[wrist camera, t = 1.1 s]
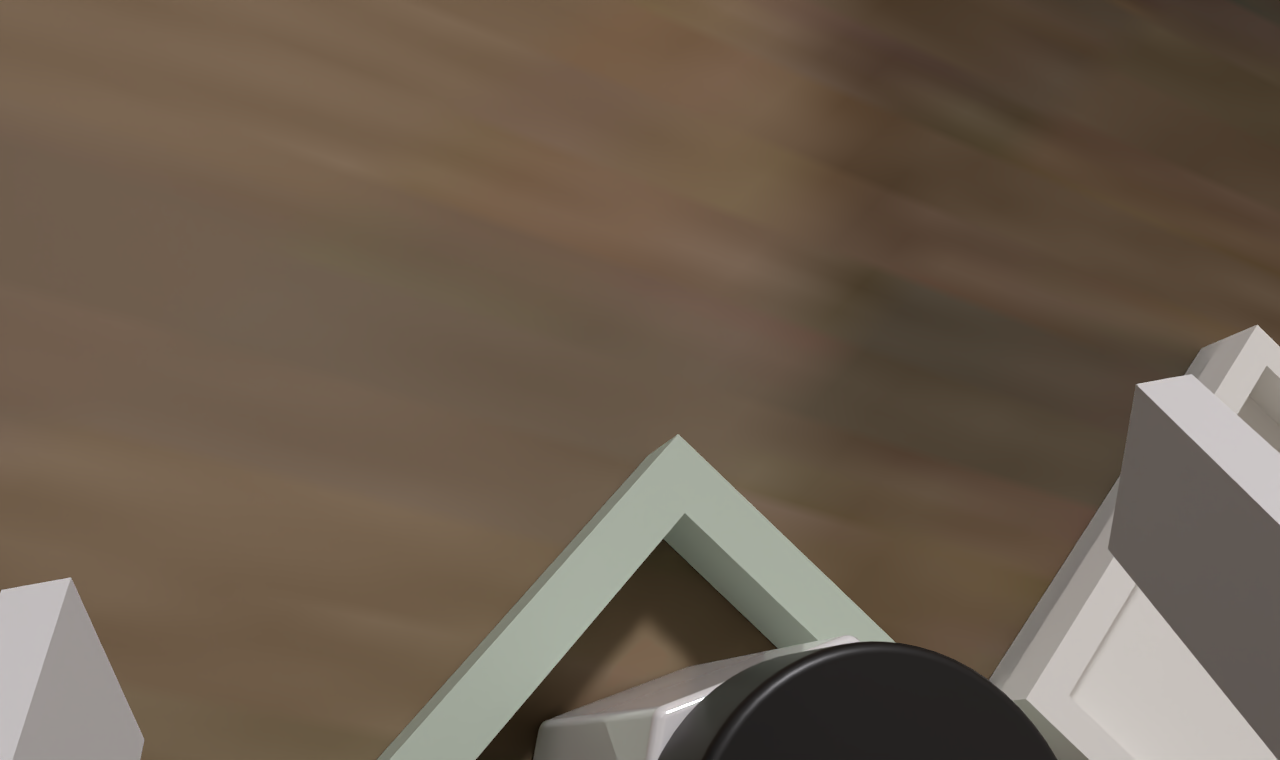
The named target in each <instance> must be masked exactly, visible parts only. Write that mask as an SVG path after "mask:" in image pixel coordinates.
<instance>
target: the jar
mask: <svg viewBox="0 0 1280 760" xmlns="http://www.w3.org/2000/svg"><path fill="white" fill-rule="evenodd" d="M533 760H1058V759H1057V758H1056V756H1055V755H1054V753H1053V751H1052V750H1051V748H1050V746H1049V745H1048V743H1047V741H1046V740H1045V739H1044V737H1043V736H1042V735H1041V733H1040V732H1039V730H1038V729H1037V728H1036V726H1035V725H1034V724H1033V723H1032V721H1031V720H1030V719H1029V718H1028V717H1027V716H1026V714H1025V713H1024V712H1023V711H1022V710H1021V709H1020V708H1019V707H1018V706H1017V705H1016V704H1015V703H1014V702H1013V701H1012V700H1011V699H1010V698H1009V697H1008V696H1007V695H1006V694H1005V693H1004V692H1003V691H1001V690H1000V689H999V688H998V687H997V686H995V685H994V684H993V683H992V682H990V681H989V680H988V679H986V678H985V677H983V676H982V675H980V674H979V673H977V672H976V671H974V670H973V669H971V668H969V667H967V666H965V665H964V664H962V663H960V662H958V661H956V660H954V659H952V658H949V657H947V656H944V655H942V654H940V653H937V652H934V651H931V650H928V649H924V648H921V647H917V646H912V645H907V644H902V643H894V642H880V641H868V642H860V641H859V640H858V639H857V638H856V637H854V636H850V635H843V636H838V637H833V638H829V639H824V640H819V641H814V642H809V643H804V644H799V645H794V646H789V647H784V648H779V649H774V650H769V651H764V652H759V653H754V654H749V655H744V656H739V657H734V658H729V659H724V660H719V661H714V662H709V663H704V664H700V665H695V666H690V667H687V668H684V669H681V670H679V671H676V672H673V673H671V674H668V675H665V676H663V677H660V678H657V679H655V680H652V681H649V682H647V683H644V684H641V685H639V686H636V687H633V688H631V689H628V690H625V691H623V692H620V693H617V694H615V695H612V696H609V697H607V698H604V699H601V700H599V701H596V702H593V703H591V704H588V705H585V706H583V707H580V708H577V709H575V710H572V711H569V712H567V713H564V714H561V715H559V716H556V717H553V718H551V719H548V720H546V721H544V722H543V723H542V724H541V725H540V727H539V730H538V736H537V741H536V746H535V752H534V757H533Z"/></svg>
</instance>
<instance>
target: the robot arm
mask: <svg viewBox="0 0 1280 760" xmlns="http://www.w3.org/2000/svg"><path fill="white" fill-rule="evenodd" d="M1108 550H1109V551H1110V552H1111V554H1112V555H1113V556H1114V557H1115V559H1116V560H1117V561H1118V562H1119V564H1120V565H1121V566H1122V567H1123V569H1124V570H1125V571H1126V572H1127V573H1128V575H1129V576H1130V577H1131V578H1132V580H1133V581H1134V582H1135V583H1136V585H1137V586H1138V587H1139V588H1140V590H1141V591H1142V592H1143V593H1144V595H1145V596H1146V597H1147V598H1148V600H1149V601H1150V602H1151V603H1152V604H1153V606H1154V607H1155V608H1156V609H1157V611H1158V612H1159V613H1160V614H1161V616H1162V617H1163V618H1164V619H1165V621H1166V622H1167V623H1168V624H1169V626H1170V627H1171V628H1172V629H1173V631H1174V632H1175V633H1176V634H1177V635H1178V637H1179V638H1180V639H1181V640H1182V642H1183V643H1184V644H1185V645H1186V647H1187V648H1188V649H1189V650H1190V652H1191V653H1192V654H1193V655H1194V657H1195V658H1196V659H1197V660H1198V662H1199V663H1200V664H1201V665H1202V666H1203V668H1204V669H1205V670H1206V671H1207V673H1208V674H1209V675H1210V676H1211V678H1212V679H1213V680H1214V681H1215V683H1216V684H1217V685H1218V686H1219V688H1220V689H1221V690H1222V691H1223V693H1224V694H1225V695H1226V696H1227V697H1228V699H1229V700H1230V701H1231V702H1232V704H1233V705H1234V706H1235V707H1236V709H1237V710H1238V711H1239V712H1240V714H1241V715H1242V716H1243V717H1244V719H1245V720H1246V721H1247V722H1248V724H1249V725H1250V726H1251V727H1252V728H1253V730H1254V731H1255V732H1256V733H1257V735H1258V736H1259V737H1260V738H1261V740H1262V741H1263V742H1264V743H1265V745H1266V746H1267V747H1268V748H1269V750H1270V751H1271V752H1272V753H1273V755H1274V756H1275V757H1276V758H1277V759H1278V760H1280V453H1279V452H1278V451H1277V450H1276V449H1274V448H1273V447H1272V446H1271V445H1270V444H1269V443H1268V442H1267V441H1265V440H1264V439H1263V438H1262V437H1261V436H1260V435H1259V434H1258V433H1257V432H1255V431H1254V430H1253V429H1252V428H1251V427H1250V426H1249V425H1248V424H1247V423H1245V422H1244V421H1243V420H1242V419H1241V418H1240V417H1239V416H1238V415H1237V414H1235V413H1234V412H1233V411H1232V410H1231V409H1230V408H1229V407H1228V406H1227V405H1225V404H1224V403H1223V402H1222V401H1221V400H1220V399H1219V398H1218V397H1217V396H1215V395H1214V394H1213V393H1212V392H1211V391H1210V390H1209V389H1208V388H1207V387H1205V386H1204V385H1203V384H1202V383H1201V382H1200V381H1199V380H1198V379H1197V378H1195V377H1194V376H1193V375H1192V374H1190V375H1184V376H1179V377H1173V378H1168V379H1162V380H1157V381H1151V382H1146V383H1140V384H1136V388H1135V393H1134V399H1133V405H1132V411H1131V417H1130V423H1129V428H1128V434H1127V440H1126V446H1125V452H1124V457H1123V463H1122V469H1121V475H1120V481H1119V487H1118V492H1117V498H1116V504H1115V510H1114V516H1113V522H1112V527H1111V533H1110V539H1109V545H1108ZM143 744H144V738H143V736H142V733H141V731H140V729H139V727H138V725H137V722H136V720H135V718H134V716H133V713H132V711H131V709H130V707H129V705H128V702H127V700H126V698H125V696H124V694H123V691H122V689H121V687H120V685H119V683H118V680H117V678H116V676H115V674H114V671H113V669H112V667H111V665H110V663H109V660H108V658H107V656H106V654H105V652H104V649H103V647H102V645H101V643H100V641H99V638H98V636H97V634H96V632H95V629H94V627H93V625H92V623H91V621H90V618H89V616H88V614H87V612H86V610H85V607H84V605H83V603H82V601H81V598H80V596H79V594H78V592H77V590H76V587H75V585H74V583H73V581H72V579H71V578H65V579H60V580H54V581H49V582H43V583H38V584H32V585H27V586H21V587H16V588H10V589H5V590H1V593H0V760H140V758H141V753H142V748H143Z"/></svg>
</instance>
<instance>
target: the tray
mask: <svg viewBox="0 0 1280 760" xmlns="http://www.w3.org/2000/svg"><path fill="white" fill-rule="evenodd" d="M1190 374H1192V375H1193V376H1194V377H1195V378H1197V379H1198V380H1199V381H1200V382H1201V383H1202V384H1203V385H1204V386H1205V387H1207V388H1208V389H1209V390H1210V391H1211V392H1212V393H1213V394H1214V395H1215V396H1217V397H1218V398H1219V399H1220V400H1221V401H1222V402H1223V403H1224V404H1225V405H1227V406H1228V407H1229V408H1230V409H1231V410H1232V411H1233V412H1234V413H1235V414H1237V415H1238V416H1239V417H1240V418H1241V419H1242V420H1243V421H1244V422H1245V423H1247V424H1248V425H1249V426H1250V427H1251V428H1252V429H1253V430H1254V431H1255V432H1257V433H1258V434H1259V435H1260V436H1261V437H1262V438H1263V439H1264V440H1265V441H1267V442H1268V443H1269V444H1270V445H1271V446H1272V447H1273V448H1274V449H1276V450H1277V451H1278V452H1279V453H1280V347H1279V346H1278V345H1277V344H1276V343H1275V342H1274V341H1273V340H1272V339H1271V338H1270V337H1269V336H1268V335H1267V334H1266V333H1265V332H1264V331H1263V330H1262V329H1261V328H1260V327H1259V326H1258V325H1256V326H1253V327H1251V328H1249V329H1246V330H1244V331H1241V332H1239V333H1237V334H1234V335H1232V336H1230V337H1227V338H1225V339H1222V340H1220V341H1218V342H1215V343H1213V344H1211V345H1208V346H1206V347H1203V348H1201V350H1200V351H1199V353H1198V355H1197V356H1196V358H1195V359H1194V361H1193V362H1192V364H1191V365H1190V367H1189V369H1188V370H1187V372H1186V373H1185V375H1190ZM1119 481H1120V476H1119V478H1118V479H1117V481H1116V483H1115V484H1114V486H1113V487H1112V489H1111V490H1110V492H1109V493H1108V495H1107V497H1106V498H1105V500H1104V501H1103V503H1102V504H1101V506H1100V507H1099V509H1098V511H1097V512H1096V514H1095V515H1094V517H1093V518H1092V520H1091V522H1090V523H1089V525H1088V526H1087V528H1086V529H1085V531H1084V532H1083V534H1082V536H1081V537H1080V539H1079V540H1078V542H1077V543H1076V545H1075V547H1074V548H1073V550H1072V551H1071V553H1070V554H1069V556H1068V557H1067V559H1066V561H1065V562H1064V564H1063V565H1062V567H1061V568H1060V570H1059V571H1058V573H1057V575H1056V576H1055V578H1054V579H1053V581H1052V582H1051V584H1050V586H1049V587H1048V589H1047V590H1046V592H1045V593H1044V595H1043V596H1042V598H1041V600H1040V601H1039V603H1038V604H1037V606H1036V607H1035V609H1034V611H1033V612H1032V614H1031V615H1030V617H1029V618H1028V620H1027V621H1026V623H1025V625H1024V626H1023V628H1022V629H1021V631H1020V632H1019V634H1018V635H1017V637H1016V639H1015V640H1014V642H1013V643H1012V645H1011V646H1010V648H1009V650H1008V651H1007V653H1006V654H1005V656H1004V657H1003V659H1002V660H1001V662H1000V664H999V665H998V667H997V668H996V670H995V671H994V673H993V675H992V676H991V678H990V679H989V681H990V682H992V683H993V684H994V685H995V686H997V687H998V688H999V689H1000V690H1001V691H1003V692H1004V693H1005V694H1006V695H1007V696H1008V697H1009V698H1010V699H1011V700H1012V701H1013V702H1014V703H1015V704H1016V705H1017V706H1018V707H1019V708H1020V709H1021V710H1022V711H1023V712H1024V713H1025V714H1026V716H1027V717H1028V718H1029V719H1030V720H1031V721H1032V723H1033V724H1034V725H1035V726H1036V728H1037V729H1038V730H1039V732H1040V733H1041V735H1042V736H1043V737H1044V739H1045V740H1046V741H1047V743H1048V745H1049V746H1050V748H1051V750H1052V751H1053V753H1054V755H1055V756H1056V758H1057V759H1058V760H1278V759H1277V758H1276V757H1275V756H1274V755H1273V753H1272V752H1271V751H1270V750H1269V748H1268V747H1267V746H1266V745H1265V743H1264V742H1263V741H1262V740H1261V738H1260V737H1259V736H1258V735H1257V733H1256V732H1255V731H1254V730H1253V728H1252V727H1251V726H1250V725H1249V724H1248V722H1247V721H1246V720H1245V719H1244V717H1243V716H1242V715H1241V714H1240V712H1239V711H1238V710H1237V709H1236V707H1235V706H1234V705H1233V704H1232V702H1231V701H1230V700H1229V699H1228V697H1227V696H1226V695H1225V694H1224V693H1223V691H1222V690H1221V689H1220V688H1219V686H1218V685H1217V684H1216V683H1215V681H1214V680H1213V679H1212V678H1211V676H1210V675H1209V674H1208V673H1207V671H1206V670H1205V669H1204V668H1203V666H1202V665H1201V664H1200V663H1199V662H1198V660H1197V659H1196V658H1195V657H1194V655H1193V654H1192V653H1191V652H1190V650H1189V649H1188V648H1187V647H1186V645H1185V644H1184V643H1183V642H1182V640H1181V639H1180V638H1179V637H1178V635H1177V634H1176V633H1175V632H1174V631H1173V629H1172V628H1171V627H1170V626H1169V624H1168V623H1167V622H1166V621H1165V619H1164V618H1163V617H1162V616H1161V614H1160V613H1159V612H1158V611H1157V609H1156V608H1155V607H1154V606H1153V604H1152V603H1151V602H1150V601H1149V600H1148V598H1147V597H1146V596H1145V595H1144V593H1143V592H1142V591H1141V590H1140V588H1139V587H1138V586H1137V585H1136V583H1135V582H1134V581H1133V580H1132V578H1131V577H1130V576H1129V575H1128V573H1127V572H1126V571H1125V570H1124V569H1123V567H1122V566H1121V565H1120V564H1119V562H1118V561H1117V560H1116V559H1115V557H1114V556H1113V555H1112V554H1111V552H1110V551H1109V550H1108V545H1109V539H1110V533H1111V527H1112V522H1113V516H1114V510H1115V504H1116V498H1117V492H1118V487H1119Z"/></svg>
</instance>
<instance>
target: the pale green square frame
mask: <svg viewBox="0 0 1280 760" xmlns="http://www.w3.org/2000/svg"><path fill="white" fill-rule="evenodd" d="M662 539H664V540H665V541H666V542H667V543H668V544H669V545H670V546H671V547H672V548H673V549H674V550H675V551H676V552H678V553H679V554H680V555H681V556H682V557H683V558H684V559H685V560H686V561H687V562H688V563H689V564H690V565H691V566H692V567H693V568H694V569H695V570H696V571H697V572H698V573H699V574H701V575H702V576H703V577H704V578H705V579H706V580H707V581H708V582H709V583H710V584H711V585H712V586H713V587H714V588H715V589H716V590H717V591H718V592H719V593H720V594H721V595H723V596H724V597H725V598H726V599H727V600H728V601H729V602H730V603H731V604H732V605H733V606H734V607H735V608H736V609H737V610H738V611H739V612H740V613H741V614H742V615H743V616H745V617H746V618H747V619H748V620H749V621H750V622H751V623H752V624H753V625H754V626H755V627H756V628H757V629H758V630H759V631H760V632H761V633H762V634H763V635H764V636H765V637H766V638H768V639H769V640H770V641H771V642H772V643H773V644H774V645H775V646H776V647H777V648H778V649H779V648H784V647H789V646H794V645H799V644H804V643H809V642H814V641H819V640H824V639H829V638H833V637H838V636H843V635H850V636H854V637H856V638H857V639H858V640H859V641H860V642H868V641H880V642H894V641H893V640H892V639H891V638H890V637H889V636H888V635H887V634H886V633H885V632H884V631H883V630H882V629H881V628H880V627H879V626H878V625H877V624H876V623H875V622H873V621H872V620H871V619H870V618H869V617H868V616H867V615H866V614H865V613H864V612H863V611H862V610H861V609H860V608H859V607H858V606H857V605H856V604H855V603H854V602H853V601H852V600H851V599H850V598H848V597H847V596H846V595H845V594H844V593H843V592H842V591H841V590H840V589H839V588H838V587H837V586H836V585H835V584H834V583H833V582H832V581H831V580H830V579H829V578H828V577H827V576H826V575H824V574H823V573H822V572H821V571H820V570H819V569H818V568H817V567H816V566H815V565H814V564H813V563H812V562H811V561H810V560H809V559H808V558H807V557H806V556H805V555H804V554H803V553H802V552H801V551H799V550H798V549H797V548H796V547H795V546H794V545H793V544H792V543H791V542H790V541H789V540H788V539H787V538H786V537H785V536H784V535H783V534H782V533H781V532H780V531H779V530H778V529H777V528H776V527H774V526H773V525H772V524H771V523H770V522H769V521H768V520H767V519H766V518H765V517H764V516H763V515H762V514H761V513H760V512H759V511H758V510H757V509H756V508H755V507H754V506H753V505H752V504H751V503H749V502H748V501H747V500H746V499H745V498H744V497H743V496H742V495H741V494H740V493H739V492H738V491H737V490H736V489H735V488H734V487H733V486H732V485H731V484H730V483H729V482H728V481H727V480H725V479H724V478H723V477H722V476H721V475H720V474H719V473H718V472H717V471H716V470H715V469H714V468H713V467H712V466H711V465H710V464H709V463H708V462H707V461H706V460H705V459H704V458H703V457H702V456H700V455H699V454H698V453H697V452H696V451H695V450H694V449H693V448H692V447H691V446H690V445H689V444H688V443H687V442H686V441H685V440H684V439H683V438H682V437H681V436H680V435H679V434H678V435H676V436H675V437H673V438H672V439H671V440H669V441H668V442H666V443H665V444H664V445H662V446H661V447H659V448H658V449H657V450H655V451H654V452H652V453H651V454H650V455H648V456H647V457H646V458H645V460H644V461H643V462H642V463H641V464H640V465H639V466H638V467H637V469H636V470H635V471H634V472H633V473H632V474H631V475H630V476H629V478H628V479H627V480H626V481H625V482H624V483H623V484H622V485H621V487H620V488H619V489H618V490H617V491H616V492H615V493H614V494H613V495H612V497H611V498H610V499H609V500H608V501H607V502H606V503H605V504H604V506H603V507H602V508H601V509H600V510H599V511H598V512H597V513H596V515H595V516H594V517H593V518H592V519H591V520H590V521H589V522H588V524H587V525H586V526H585V527H584V528H583V529H582V530H581V531H580V532H579V534H578V535H577V536H576V537H575V538H574V539H573V540H572V541H571V543H570V544H569V545H568V546H567V547H566V548H565V549H564V550H563V552H562V553H561V554H560V555H559V556H558V557H557V558H556V559H555V560H554V562H553V563H552V564H551V565H550V566H549V567H548V568H547V569H546V571H545V572H544V573H543V574H542V575H541V576H540V577H539V578H538V580H537V581H536V582H535V583H534V584H533V585H532V586H531V587H530V589H529V590H528V591H527V592H526V593H525V594H524V595H523V596H522V597H521V599H520V600H519V601H518V602H517V603H516V604H515V605H514V606H513V608H512V609H511V610H510V611H509V612H508V613H507V614H506V615H505V617H504V618H503V619H502V620H501V621H500V622H499V623H498V624H497V626H496V627H495V628H494V629H493V630H492V631H491V632H490V633H489V634H488V636H487V637H486V638H485V639H484V640H483V641H482V642H481V643H480V645H479V646H478V647H477V648H476V649H475V650H474V651H473V652H472V654H471V655H470V656H469V657H468V658H467V659H466V660H465V661H464V662H463V664H462V665H461V666H460V667H459V668H458V669H457V670H456V671H455V673H454V674H453V675H452V676H451V677H450V678H449V679H448V680H447V682H446V683H445V684H444V685H443V686H442V687H441V688H440V689H439V691H438V692H437V693H436V694H435V695H434V696H433V697H432V698H431V699H430V701H429V702H428V703H427V704H426V705H425V706H424V707H423V708H422V710H421V711H420V712H419V713H418V714H417V715H416V716H415V717H414V719H413V720H412V721H411V722H410V723H409V724H408V725H407V726H406V728H405V729H404V730H403V731H402V732H401V733H400V734H399V735H398V736H397V738H396V739H395V740H394V741H393V742H392V743H391V744H390V745H389V747H388V748H387V749H386V750H385V751H384V752H383V753H382V754H381V756H380V757H379V758H378V759H377V760H476V759H477V757H478V756H479V755H480V754H481V753H482V752H483V750H484V749H485V748H486V747H487V746H488V744H489V743H490V742H491V741H492V740H493V739H494V737H495V736H496V735H497V734H498V733H499V731H500V730H501V729H502V728H503V727H504V726H505V724H506V723H507V722H508V721H509V720H510V719H511V717H512V716H513V715H514V714H515V713H516V711H517V710H518V709H519V708H520V707H521V706H522V704H523V703H524V702H525V701H526V700H527V698H528V697H529V696H530V695H531V694H532V693H533V691H534V690H535V689H536V688H537V687H538V685H539V684H540V683H541V682H542V681H543V680H544V678H545V677H546V676H547V675H548V674H549V673H550V671H551V670H552V669H553V668H554V667H555V665H556V664H557V663H558V662H559V661H560V660H561V658H562V657H563V656H564V655H565V654H566V652H567V651H568V650H569V649H570V648H571V647H572V645H573V644H574V643H575V642H576V641H577V639H578V638H579V637H580V636H581V635H582V634H583V632H584V631H585V630H586V629H587V628H588V627H589V625H590V624H591V623H592V622H593V621H594V619H595V618H596V617H597V616H598V615H599V614H600V612H601V611H602V610H603V609H604V608H605V606H606V605H607V604H608V603H609V602H610V601H611V599H612V598H613V597H614V596H615V595H616V593H617V592H618V591H619V590H620V589H621V588H622V586H623V585H624V584H625V583H626V582H627V581H628V579H629V578H630V577H631V576H632V575H633V573H634V572H635V571H636V570H637V569H638V568H639V566H640V565H641V564H642V563H643V562H644V560H645V559H646V558H647V557H648V556H649V555H650V553H651V552H652V551H653V550H654V549H655V547H656V546H657V545H658V544H659V543H660V542H661V540H662ZM894 643H895V642H894Z"/></svg>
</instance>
